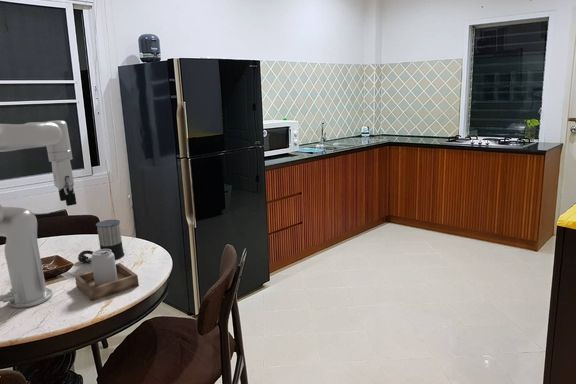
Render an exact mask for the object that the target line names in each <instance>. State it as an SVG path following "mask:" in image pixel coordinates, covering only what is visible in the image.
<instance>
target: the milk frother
mask: <svg viewBox="0 0 576 384" xmlns="http://www.w3.org/2000/svg"><path fill="white" fill-rule="evenodd" d="M120 223H121V221H120V220H118V219H106V220H101V221H99V222H97V223H96V224H95V226H96V227H97V229H96V230H97V235H98V241H99V248H100V249H99V250H101V249H110V250H111V252H112V253H114V257H115V261H116V260H118V259H121V258H123V257H124V256H125V252H124V247H123V241H122V240H123V239H122V233H121V232H122V231H121V225H120ZM93 252H94V251H92V250H82V251H81V252H80V253H79V254H78V257H77V259H78V262H80V263H82V264H89V263H90V264H91V259H89V256H87V254H89V255H91V256H92V253H93Z"/></svg>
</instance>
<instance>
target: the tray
mask: <svg viewBox="0 0 576 384" xmlns="http://www.w3.org/2000/svg"><path fill="white" fill-rule="evenodd" d="M115 264H116V271H117V278H118V280H116V281H113V282H110V283H106V284H103V285H100V286H97V285H95V282H94V276H93V270H91V271H87V272H85V273H80V274H78V275H75V276H74V279H75V285H76V286H75V287H76V288H77V289H78V290H79V291H80V292H81V293H83V295H84V296H86V298H88V299H89V301H91V302H95V301H98V300H100V299H104V298H106V297H109V296H112V295H115V294H118V293H121V292H125V291H127V290H130V289H134V288H136V287H139V286H140V283H139V277H138V274H136V273H135V272H133V271H132V270H131V269H129V268H128V267H126V266H125V265H124V264H122V263H121V262H119V263H115Z"/></svg>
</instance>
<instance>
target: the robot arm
mask: <svg viewBox="0 0 576 384" xmlns="http://www.w3.org/2000/svg"><path fill="white" fill-rule="evenodd" d="M68 129H69V128H68V124H67V122H66V121H65V120H61V119H60V120H58V119H57V120H47V121H36V122H35V121H34V122H33V121H32V122H26V123H23V124H22V123H19V124H17V123H14V124H13V123H12V124H11V123H0V153H1V152H2V153H3V152H13V151H18V150H25V149H35V148H44V147H46V151H47V157H48V162H50V163H51V169H52V176H53V183H54V184H53V185H54V187H56V188H57V189H58V194H59V195H58V196H59V200H60V202H64V201H65V205H66V206H67V207H70V206H75V205H77V199H76V193H75V189H74V187H75V181H74V175H73V168H72V164H71V160H73V159H74V158H73V153H72V146H71V142H70V136H69V135H70V134H69V130H68ZM0 237H5V238H6V240H5V245H4V256H5V260H6V264H7V269H8V275H9V280H10V285H11V288H10V289H9V291H8V292H7V293H5V294H0V302H2V303H3V304H4V303H7V302H8V304H9V306H10V307H12V308H16V309H17V308H18V309H20V308H21V309H22V308H29V307H33V306H37V305H39V304H42V303H44V302H46V301H47V300H49V299H51V298H52V296H53V290H52V289H51V288H49V287H47V286H46V285H47V284H46V279H45V275H44V270H43V264H42V259H41V254H40V249H39V248H40V247H39V243H38V242H39V241H38V220H37V216H36V215H35V214H34V212H32V211H31V210H29V209H27V208H24V207H23V208H22V207H13V206H2V205H1V204H0Z"/></svg>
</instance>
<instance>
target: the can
mask: <svg viewBox="0 0 576 384" xmlns="http://www.w3.org/2000/svg"><path fill="white" fill-rule="evenodd" d="M90 260H91V262H90V264H91V268H92V270H91V271H93V276H94V282H95V285H97V286H100V285H103V284H106V283H110V282H113V281H116V280H118V278H117V271H116V264H117V263H116V260H115V257H114V253H112V252H111V250H110V249H101V250H100V249H97V250H95V251H93V253H92V255H91V257H90Z"/></svg>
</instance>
